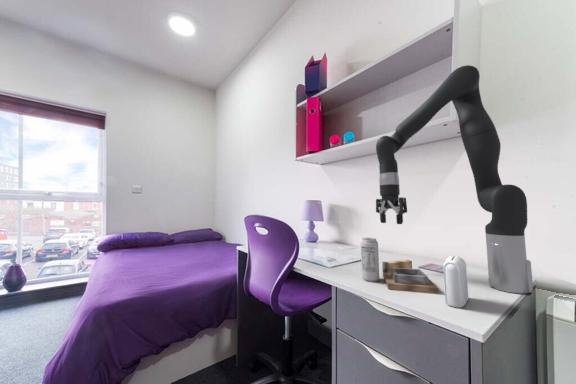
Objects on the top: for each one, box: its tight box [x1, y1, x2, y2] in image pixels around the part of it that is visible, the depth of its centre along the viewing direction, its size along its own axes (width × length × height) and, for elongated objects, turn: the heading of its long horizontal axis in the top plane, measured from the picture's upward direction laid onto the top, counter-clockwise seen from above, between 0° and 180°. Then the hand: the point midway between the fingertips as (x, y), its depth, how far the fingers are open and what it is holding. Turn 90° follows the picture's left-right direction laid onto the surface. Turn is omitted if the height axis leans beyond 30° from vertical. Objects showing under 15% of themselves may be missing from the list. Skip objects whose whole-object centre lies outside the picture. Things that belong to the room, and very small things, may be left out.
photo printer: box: [443, 255, 469, 309], centre depth 63 cm, size 10×4×12 cm, turn 134°
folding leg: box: [381, 259, 413, 274], centre depth 87 cm, size 13×2×5 cm, turn 109°
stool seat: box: [382, 267, 440, 295], centre depth 76 cm, size 14×13×4 cm
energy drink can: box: [360, 237, 380, 283], centre depth 82 cm, size 6×6×15 cm
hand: (391, 223), depth 93 cm, fingers open, 8 cm apart
